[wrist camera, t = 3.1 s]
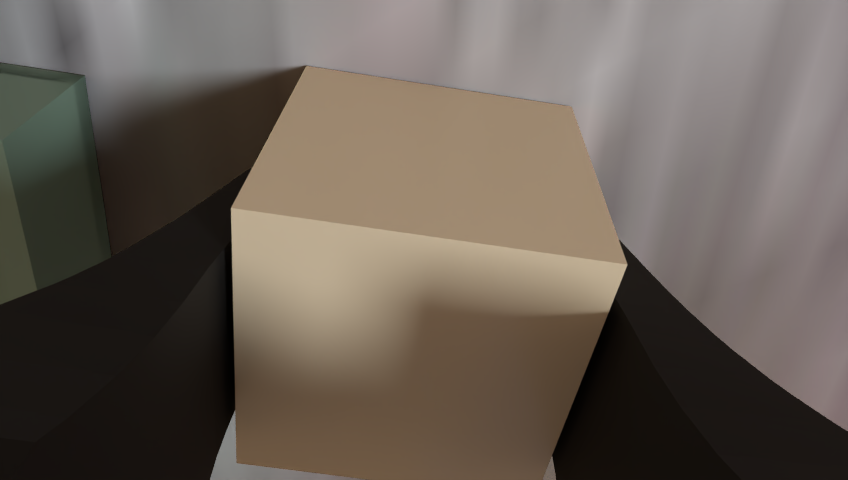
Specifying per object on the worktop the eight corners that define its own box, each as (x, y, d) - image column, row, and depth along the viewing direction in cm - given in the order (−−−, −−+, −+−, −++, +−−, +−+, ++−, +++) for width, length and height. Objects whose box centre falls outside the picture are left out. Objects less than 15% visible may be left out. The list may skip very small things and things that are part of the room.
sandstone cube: (571, 107, 11) (627, 265, 8) (513, 308, 14) (534, 500, 10) (306, 65, 11) (231, 207, 7) (296, 277, 14) (236, 463, 10)
